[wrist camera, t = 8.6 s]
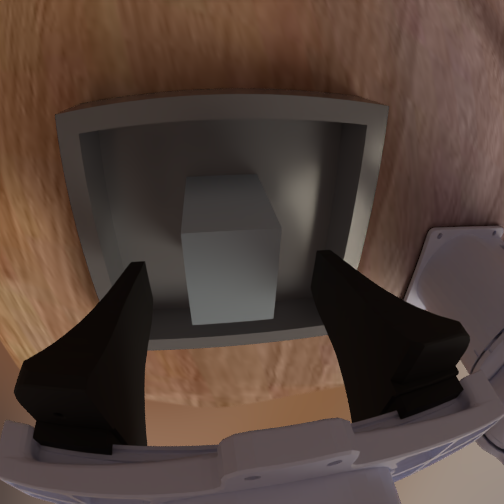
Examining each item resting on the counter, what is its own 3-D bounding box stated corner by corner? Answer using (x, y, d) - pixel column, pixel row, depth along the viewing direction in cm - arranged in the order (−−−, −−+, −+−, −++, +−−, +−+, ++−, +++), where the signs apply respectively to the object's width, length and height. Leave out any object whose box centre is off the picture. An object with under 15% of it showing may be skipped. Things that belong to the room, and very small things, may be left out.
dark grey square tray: (359, 96, 14) (389, 106, 12) (324, 302, 22) (338, 333, 20) (79, 103, 12) (54, 114, 10) (125, 317, 20) (119, 350, 18)
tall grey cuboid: (256, 174, 16) (281, 227, 11) (254, 249, 18) (273, 318, 14) (186, 177, 15) (180, 233, 11) (192, 252, 18) (192, 324, 13)
